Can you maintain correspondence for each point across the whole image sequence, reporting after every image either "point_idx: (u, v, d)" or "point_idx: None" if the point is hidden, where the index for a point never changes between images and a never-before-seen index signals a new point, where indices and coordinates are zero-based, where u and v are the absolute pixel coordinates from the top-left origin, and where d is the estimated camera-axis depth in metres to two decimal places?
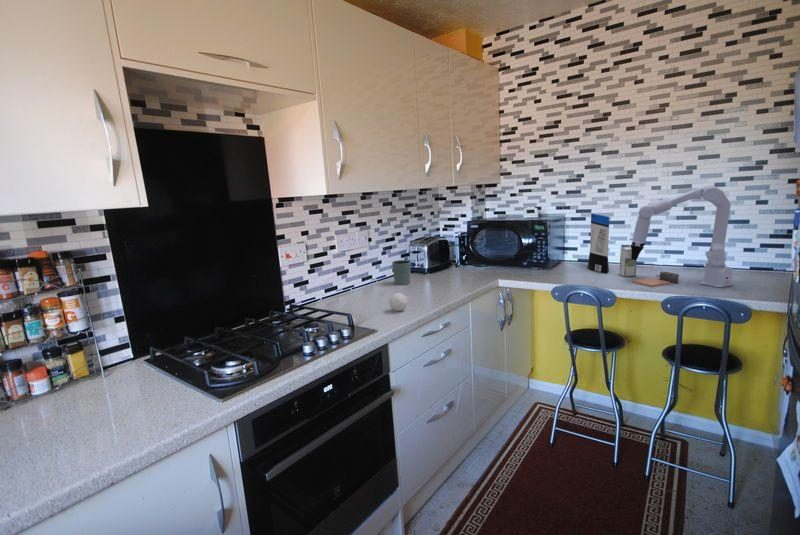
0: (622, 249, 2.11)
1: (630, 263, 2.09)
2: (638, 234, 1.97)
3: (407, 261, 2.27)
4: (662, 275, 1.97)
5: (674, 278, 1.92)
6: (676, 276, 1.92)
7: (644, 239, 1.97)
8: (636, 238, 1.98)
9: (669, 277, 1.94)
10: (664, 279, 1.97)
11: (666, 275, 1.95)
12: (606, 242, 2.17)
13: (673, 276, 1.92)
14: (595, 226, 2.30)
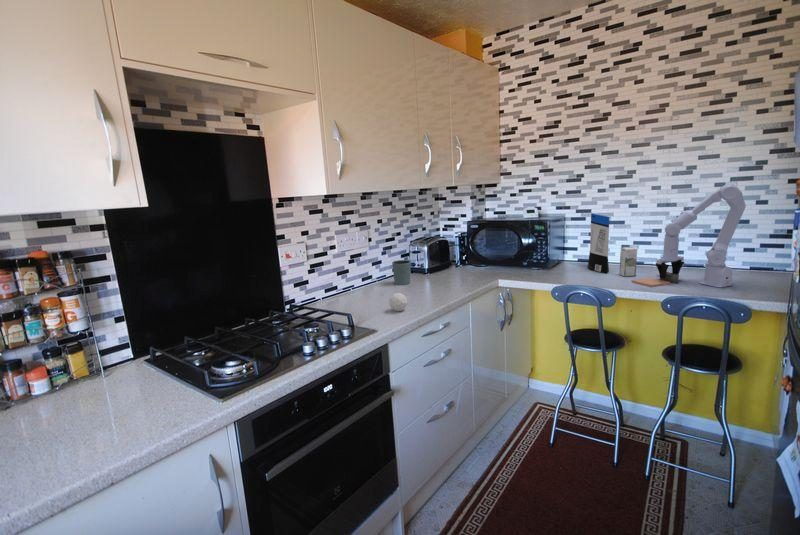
0: (622, 249, 2.11)
1: (630, 263, 2.09)
2: (664, 252, 1.94)
3: (407, 261, 2.27)
4: None
5: (674, 278, 1.92)
6: (676, 276, 1.92)
7: (671, 257, 1.92)
8: (663, 256, 1.95)
9: (669, 277, 1.94)
10: (664, 279, 1.97)
11: (666, 275, 1.95)
12: (606, 242, 2.17)
13: (673, 276, 1.92)
14: (595, 226, 2.30)
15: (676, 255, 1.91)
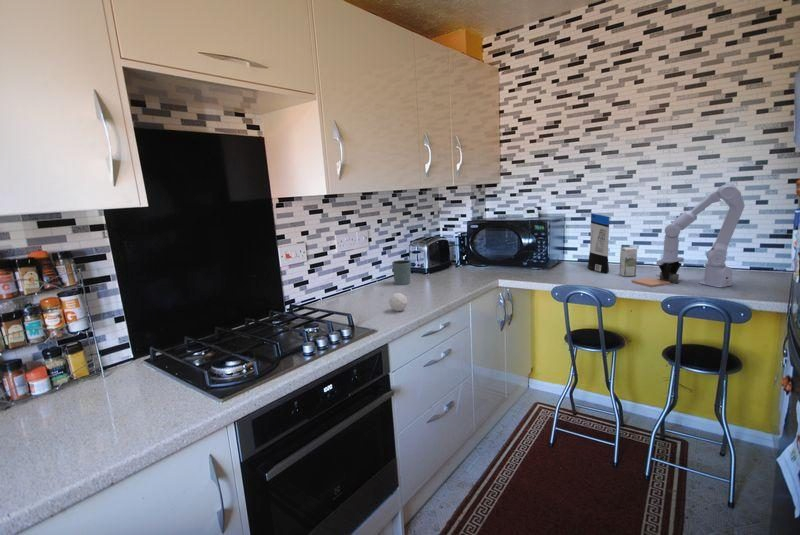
0: (622, 249, 2.11)
1: (630, 263, 2.09)
2: (664, 253, 1.94)
3: (407, 261, 2.27)
4: (662, 275, 1.97)
5: (674, 278, 1.92)
6: (676, 276, 1.92)
7: (671, 258, 1.92)
8: (663, 257, 1.95)
9: (669, 277, 1.94)
10: (664, 279, 1.97)
11: None
12: (606, 242, 2.17)
13: (673, 276, 1.92)
14: (595, 226, 2.30)
15: (676, 256, 1.92)
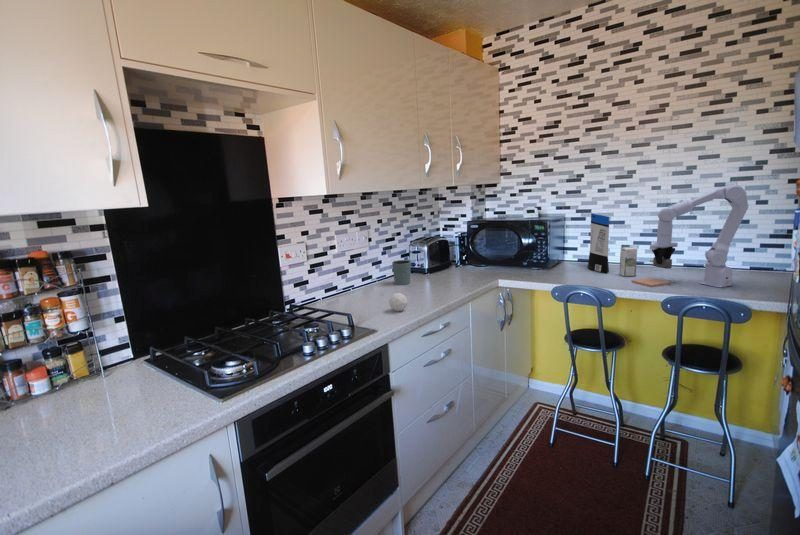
0: (622, 249, 2.11)
1: (630, 263, 2.09)
2: (658, 238, 1.92)
3: (407, 261, 2.27)
4: (655, 260, 1.96)
5: (667, 263, 1.91)
6: (669, 261, 1.90)
7: (665, 243, 1.90)
8: (657, 242, 1.93)
9: (662, 262, 1.92)
10: (657, 264, 1.95)
11: None
12: (606, 242, 2.17)
13: (666, 261, 1.91)
14: (595, 226, 2.30)
15: (670, 241, 1.90)
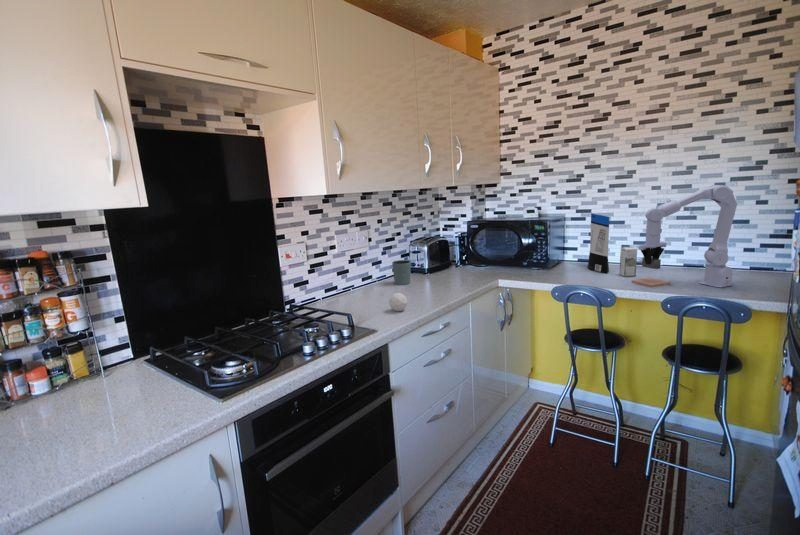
0: (622, 249, 2.11)
1: (630, 263, 2.09)
2: (646, 238, 1.91)
3: (407, 261, 2.27)
4: (644, 261, 1.95)
5: (656, 263, 1.90)
6: (658, 261, 1.90)
7: (654, 243, 1.89)
8: (646, 242, 1.92)
9: (651, 262, 1.92)
10: (646, 265, 1.94)
11: None
12: (606, 242, 2.17)
13: (655, 261, 1.90)
14: (595, 226, 2.30)
15: (658, 241, 1.89)
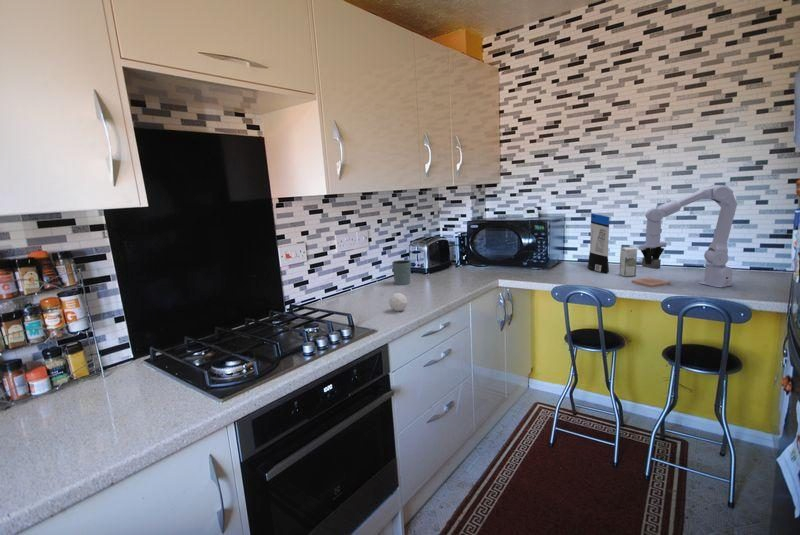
0: (622, 249, 2.11)
1: (630, 263, 2.09)
2: (646, 238, 1.91)
3: (407, 261, 2.27)
4: (644, 261, 1.95)
5: (656, 263, 1.90)
6: (658, 261, 1.90)
7: (654, 243, 1.89)
8: (646, 242, 1.92)
9: (651, 262, 1.92)
10: (646, 265, 1.94)
11: None
12: (606, 242, 2.17)
13: (655, 261, 1.90)
14: (595, 226, 2.30)
15: (658, 241, 1.89)
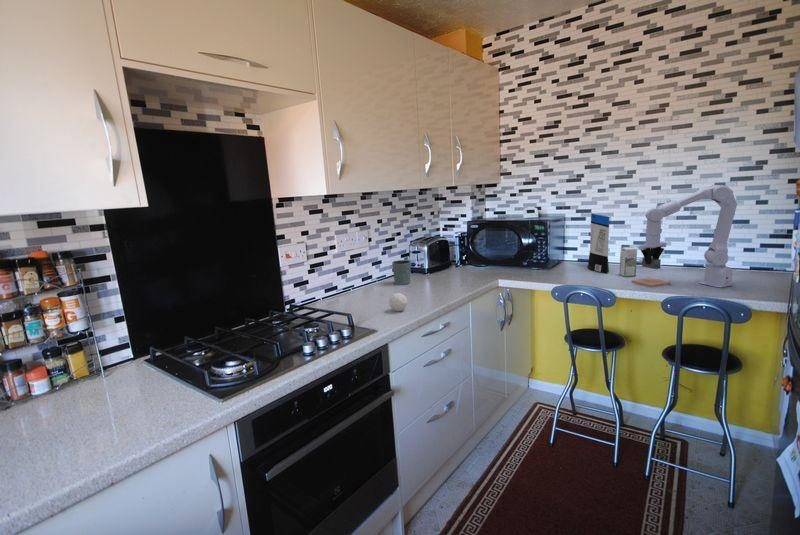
0: (622, 249, 2.11)
1: (630, 263, 2.09)
2: (646, 238, 1.91)
3: (407, 261, 2.27)
4: (644, 261, 1.95)
5: (656, 263, 1.90)
6: (658, 261, 1.90)
7: (654, 243, 1.89)
8: (646, 242, 1.92)
9: (651, 262, 1.92)
10: (646, 265, 1.94)
11: None
12: (606, 242, 2.17)
13: (655, 261, 1.90)
14: (595, 226, 2.30)
15: (658, 241, 1.89)
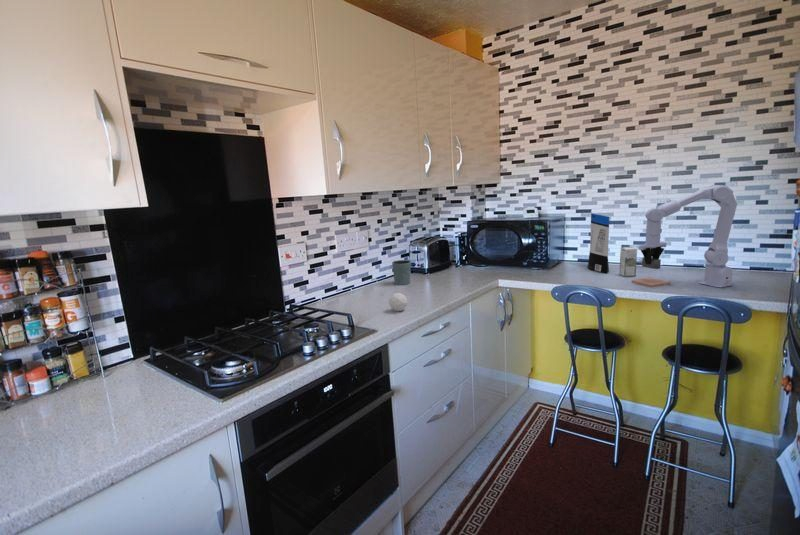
0: (622, 249, 2.11)
1: (630, 263, 2.09)
2: (646, 238, 1.91)
3: (407, 261, 2.27)
4: (644, 261, 1.95)
5: (656, 263, 1.90)
6: (658, 261, 1.90)
7: (654, 243, 1.89)
8: (646, 242, 1.92)
9: (651, 262, 1.92)
10: (646, 265, 1.94)
11: None
12: (606, 242, 2.17)
13: (655, 261, 1.90)
14: (595, 226, 2.30)
15: (658, 241, 1.89)
